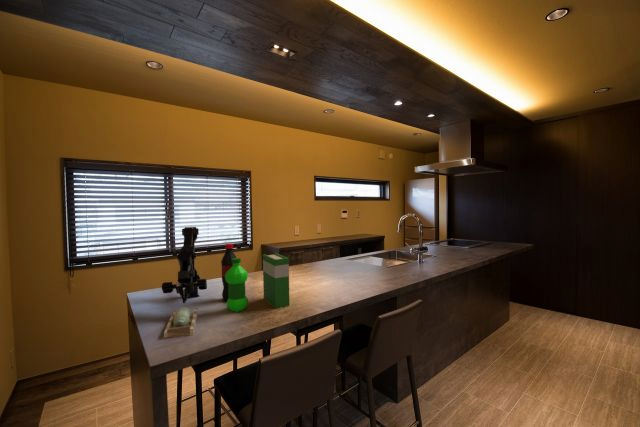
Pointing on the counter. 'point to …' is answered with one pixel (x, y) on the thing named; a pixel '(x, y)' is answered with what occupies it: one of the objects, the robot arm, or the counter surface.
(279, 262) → the green cereal box
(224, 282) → the cola bottle
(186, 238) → the robot arm
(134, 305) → the counter surface
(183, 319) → the glass bottle
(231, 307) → the plastic bottle
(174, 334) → the rest
